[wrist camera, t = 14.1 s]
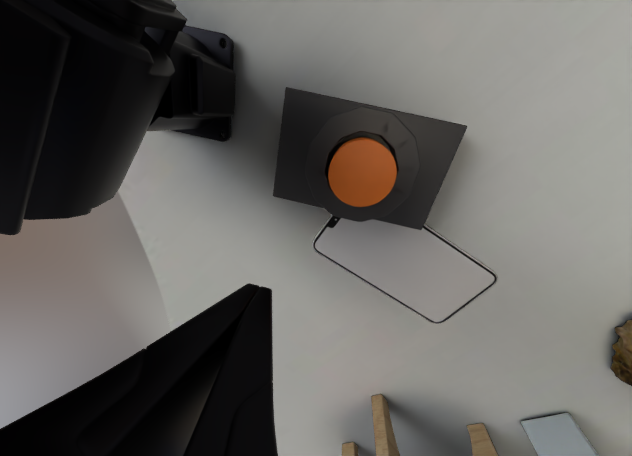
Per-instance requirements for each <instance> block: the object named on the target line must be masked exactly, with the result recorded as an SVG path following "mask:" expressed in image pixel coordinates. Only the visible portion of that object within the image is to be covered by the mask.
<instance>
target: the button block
mask: <svg viewBox="0 0 632 456" xmlns="http://www.w3.org/2000/svg"><path fill="white" fill-rule="evenodd" d="M466 128H467V126H465V125H461V124H456V123H451V122H447V121H442V120H437V119H433V118H428V117H423V116H419V115H414V114H409V113H405V112H400V111H395V110H391V109H386V108H381V107H377V106H372V105H367V104H363V103H358V102H353V101H349V100H344V99H339V98H335V97H330V96H325V95H321V94H316V93H311V92H307V91H302V90H297V89H292V88H288V87H286V90H285V99H284V107H283V116H282V124H281V133H280V141H279V150H278V158H277V167H276V175H275V184H274V192H273V196H274V197H278V198H283V199H287V200H291V201H296V202H300V203H304V204H309V205H313V206H317V207H322V208H325V209H326V210H327V211H328V212H329V213H331V214H332V215H333V216H335V217H339V218H343V219H348V220H352V221H356V222H364V221H367V220H371V219H374V220H378V221H382V222H387V223H391V224H395V225H400V226H404V227H408V228H413V229H417V230H422V228H423V225H424V223H425V221H426V219H427V216H428V214H429V212H430V210H431V207H432V205H433V203H434V201H435V198H436V196H437V194H438V192H439V189H440V187H441V185H442V182H443V180H444V178H445V176H446V173H447V171H448V169H449V167H450V164H451V162H452V160H453V158H454V155H455V153H456V151H457V149H458V146H459V144H460V142H461V140H462V137H463V135H464V133H465V131H466ZM360 137H366V138H371V139H374V140H376V141H378V142H379V143H381V144H382V145H384V146H385V147H386V148H387V149H388V150H389V151H390V152H391V154H392V155H393V157H394V159H395V162H396V167H397V176H396V180H395V184H394V186H393V188H392V190H391V191H390V192H389V194H388V195H387V196H386V197H385V198H384V199H382V200H381V201H380V202H378V203H376V204H374V205H371V206H366V207H355V206H351V205H348V204H346V203H344V202H342V201H341V200H340V199H339V198H338V197H337V196H336V195H335V194H334V193H333V191H332V189H331V186H330V183H329V178H328V172H329V167H330V163H331V161H332V159H333V156H334V154H335V153H336V151H337V150H338V149H339V148H340V147H341V146H342V145H343V144H344V143H346V142H347V141H349V140H351V139H355V138H360Z"/></svg>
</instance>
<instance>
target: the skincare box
mask: <svg viewBox="0 0 632 456" xmlns="http://www.w3.org/2000/svg"><path fill="white" fill-rule="evenodd" d="M521 424H522V426H523V428H524V430H525V432H526V434H527V436H528V437H529V439H530V441H531V443H532V445H533V447H534V449H535V451H536V453H537V455H538V456H599V455H598V453H597V452H596V450H595V449H594V447H593V446H592V445H591V443H590V442H589V440H588V439H587V437H586V436H585V434H584V433H583V432H582V430H581V429H580V427H579V426H578V424H577V423H576V422H575V420H574V419H573V417H572V416H571V415H570V414H569V413H563V414H558V415H554V416H549V417H543V418H537V419H531V420H526V421H522V422H521Z"/></svg>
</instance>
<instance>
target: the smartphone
mask: <svg viewBox="0 0 632 456" xmlns="http://www.w3.org/2000/svg"><path fill="white" fill-rule="evenodd" d="M426 227H427V228H426ZM312 246H313V249H314V250H315V251H316V252H317V253H318V254H320V255H321V256H323V257H325V258H326V259H328V260H330V261H331V262H333V263H334V264H336V265H338V266H339V267H341V268H343V269H344V270H346V271H348V272H349V273H351V274H353V275H354V276H356V277H357V278H359V279H361V280H362V281H364V282H366V283H367V284H369V285H371V286H372V287H374V288H375V289H377V290H379V291H380V292H382V293H384V294H385V295H387V296H389V297H390V298H392V299H393V300H395V301H397V302H398V303H400V304H402V305H403V306H405V307H407V308H408V309H410V310H411V311H413V312H415V313H416V314H418V315H420V316H421V317H423V318H425V319H426V320H428V321H430V322H432V323H436V324H438V323H442V322H444V321H446V320H447V319H449V318H450V317H451V316H453V315H454V314H455V313H457V312H458V311H459V310H461V309H462V308H463V307H465V306H466V305H468V304H469V303H470V302H472V301H473V300H474V299H476V298H477V297H478V296H480V295H481V294H482V293H484V292H485V291H486V290H488V289H489V288H490V287H492V286H493V285H494V284H495V283H496V281H497V278H498V277H497V275H496V273H495V272H494V271H492V270H491V269H490V268H488V267H487V266H485V265H484V264H482V263H481V262H479V261H478V260H476V259H475V258H474V257H472V256H471V255H469V254H468V253H466V252H465V251H463V250H462V249H460V248H459V247H457V246H456V245H454V244H453V243H452V242H450V241H449V240H447V239H446V238H444V237H443V236H441V235H440V234H438V233H437V232H435V231H434V230H432V229H431V228H430V227H428V226H427V225H425V224H424V225H423V228H422V230H417V229H413V228H408V227H404V226H400V225H395V224H391V223H387V222H382V221H378V220H374V219H371V220H367V221H364V222H356V221H352V220H348V219H343V218H339V217H335V216H333V215H331V216H330V217H329V219H328V220H327V221H326V223H325V224H324V225H323V227H322V228H321V230H320V231H319V232H318V234H317V235H316V236H315V238H314V240H313V243H312Z"/></svg>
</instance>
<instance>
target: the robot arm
mask: <svg viewBox="0 0 632 456" xmlns="http://www.w3.org/2000/svg"><path fill="white" fill-rule="evenodd" d="M176 7H177V6H176V5H175V4H174V3H173V2H172V1H171V0H0V234H6V235H15V234H18V233H19V232H20V230H21V226H22V222H23V219H28V220H35V219H58V218H59V219H60V218H70V217H76V216H81V215H86V214H88V213H90V211H91V209H92V208H94V207H97V206H99V205H101V204H102V203H104V202H106V201H108V200H110V199H111V198H113V197H114V195H115V194H116V192H117V191H118V189H119V188H120V186H121V184H122V182H123V180H124V178H125V175H126V173H127V171H128V169H129V167H130V165H131V163H132V161H133V159H134V156H135V154H136V152H137V150H138V148H139V146H140V144H141V142H142V140H143V137H144V135H145V133H146V131H160V130H173V131H177V132H182V133H186V134H190V135H195V136H199V137H204V138H208V139H213V140H217V141H222V142H225V141H228V140H229V139H230V138H231V118H232V115H233V114H234V106H235V77H236V75H235V73H234V72H233V52H234V45H233V41H232V39H231V38H230V37H229V36H227V35H225V34H223V33H218V32H213V31H208V30H204V29H199V28H194V27H189V26H185V23H186V21H187V19H186V18H185V17H184V16H183V15H182V14H181V13H180V12H179V11H178V10H177V9H176ZM225 40H226V41H227V47H226V48H223V45H222V44H223V42H224V41H225ZM222 131H223V132H224V133H225V137H223V136H222V134H221V133H222ZM272 381H273V359H272V290H271V289H270V288H266V287H259V286H258V285H254V284H246V285H245V286H243V287H242V288H240V289H238V290H237V291H235V292H234V293H232V294H230V295H229V296H227V297H226V298H224V299H222V300H221V301H219V302H218V303H216V304H214V305H213V306H211V307H210V308H208V309H206V310H205V311H203V312H202V313H200V314H198V315H197V316H195V317H194V318H192V319H190V320H189V321H187V322H186V323H184V324H182V325H181V326H179V327H178V328H176V329H174V330H173V331H171V332H170V333H168V334H166V335H165V336H163V337H162V338H160V339H159V340H157V341H155V342H154V343H152V344H150V345H149V346H147V348H146V349H142V350H141V351H139V352H137V353H136V354H134V355H133V356H131V357H129V358H128V359H126V360H124V361H123V362H121V363H120V364H118V365H116V366H114V367H113V368H111V369H109V370H108V371H106V372H104V373H103V374H101V375H99V376H97V377H95V378H94V379H92V380H90V381H88V382H87V383H85V384H83V385H81V386H79V387H77V388H76V389H74V390H72V391H70V392H68V393H67V394H65V395H63V396H61V397H59V398H57V399H55V400H54V401H52V402H50V403H48V404H46V405H44V406H42V407H40V408H39V409H37V410H35V411H33V412H31V413H29V414H27V415H25V416H24V417H22V418H20V419H18V420H16V421H14V422H12V423H11V424H9V425H7V426H5V427H3V428H1V429H0V456H278V453H277V445H276V435H275V426H274V409H273V382H272Z"/></svg>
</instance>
